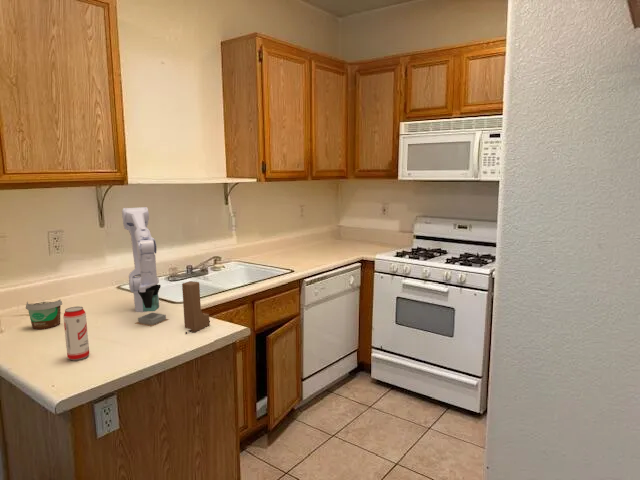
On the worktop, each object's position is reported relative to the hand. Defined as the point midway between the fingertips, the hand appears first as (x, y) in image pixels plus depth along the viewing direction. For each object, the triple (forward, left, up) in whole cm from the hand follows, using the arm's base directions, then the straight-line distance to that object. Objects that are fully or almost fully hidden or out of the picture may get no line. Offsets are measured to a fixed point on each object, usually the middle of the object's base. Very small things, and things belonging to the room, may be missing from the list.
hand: (150, 305), depth 173 cm
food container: (+20, -35, -8) cm, 41 cm away
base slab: (0, 0, -8) cm, 8 cm away
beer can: (+33, +3, -8) cm, 34 cm away
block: (0, 0, -1) cm, 1 cm away
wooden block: (-4, +19, -8) cm, 21 cm away
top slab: (0, 0, -6) cm, 6 cm away
